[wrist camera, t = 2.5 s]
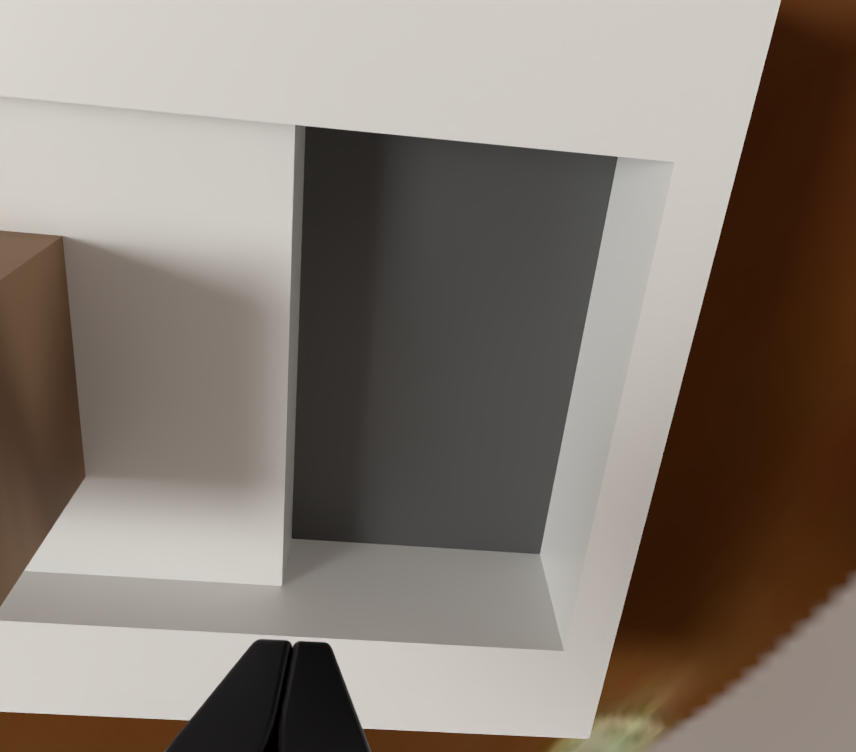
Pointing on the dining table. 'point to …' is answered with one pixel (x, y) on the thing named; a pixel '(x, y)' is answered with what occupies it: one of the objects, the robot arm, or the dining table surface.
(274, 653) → the robot arm
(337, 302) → the box
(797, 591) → the dining table surface
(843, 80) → the dining table surface
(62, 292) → the walnut block
